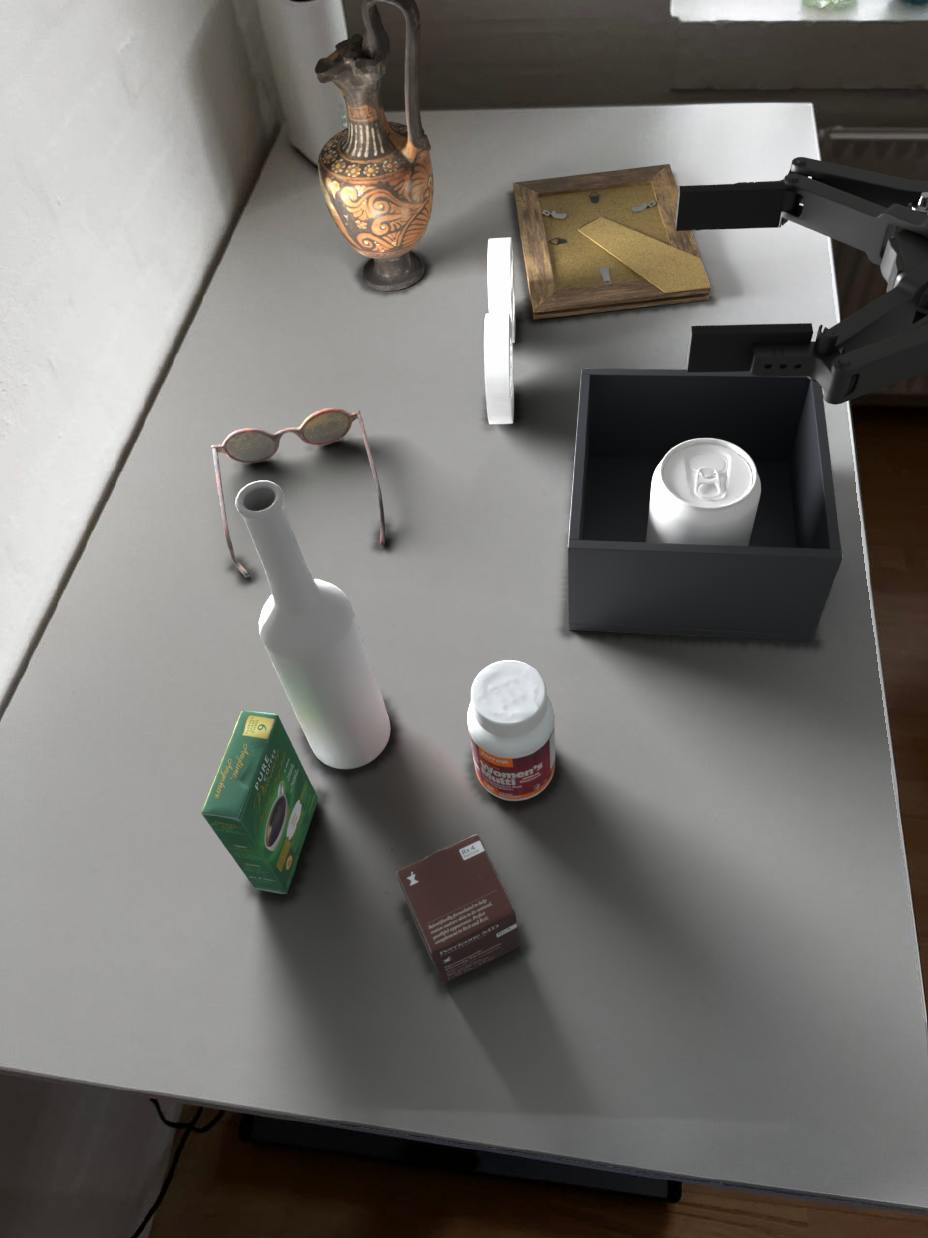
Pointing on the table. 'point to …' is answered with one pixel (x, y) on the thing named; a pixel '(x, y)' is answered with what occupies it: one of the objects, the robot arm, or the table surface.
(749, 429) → the storage bin
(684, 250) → the picture frame
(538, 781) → the pill bottle
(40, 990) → the table surface
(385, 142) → the vase
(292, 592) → the bottle
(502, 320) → the letter
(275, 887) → the coffee box
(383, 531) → the eyeglasses
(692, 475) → the beverage can
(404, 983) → the table surface
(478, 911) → the box
